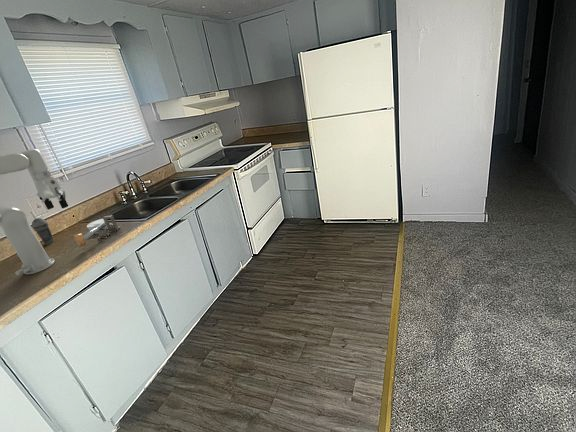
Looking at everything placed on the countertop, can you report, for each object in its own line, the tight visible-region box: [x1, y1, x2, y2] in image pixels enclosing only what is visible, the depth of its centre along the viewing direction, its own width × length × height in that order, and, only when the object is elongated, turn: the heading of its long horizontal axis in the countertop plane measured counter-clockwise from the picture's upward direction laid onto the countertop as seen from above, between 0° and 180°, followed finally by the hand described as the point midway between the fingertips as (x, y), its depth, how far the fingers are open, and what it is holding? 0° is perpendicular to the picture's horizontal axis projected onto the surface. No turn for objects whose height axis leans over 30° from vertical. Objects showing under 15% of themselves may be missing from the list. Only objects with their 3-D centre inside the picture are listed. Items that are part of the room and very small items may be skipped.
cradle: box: [97, 229, 111, 240], centre depth 169 cm, size 4×5×5 cm
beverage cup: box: [30, 211, 55, 245], centre depth 173 cm, size 7×7×20 cm
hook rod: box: [73, 223, 106, 248], centre depth 162 cm, size 20×4×6 cm, turn 171°
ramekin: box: [86, 218, 108, 235], centre depth 180 cm, size 11×11×5 cm
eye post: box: [102, 214, 121, 233], centre depth 175 cm, size 5×6×9 cm
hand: (58, 207), depth 153 cm, fingers open, 9 cm apart
